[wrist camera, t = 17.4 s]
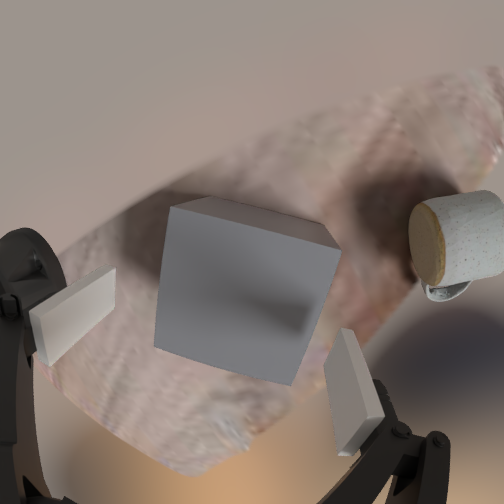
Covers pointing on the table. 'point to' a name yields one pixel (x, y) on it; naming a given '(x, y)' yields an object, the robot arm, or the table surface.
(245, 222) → the grey cube
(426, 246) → the ceramic mug
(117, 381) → the table surface
